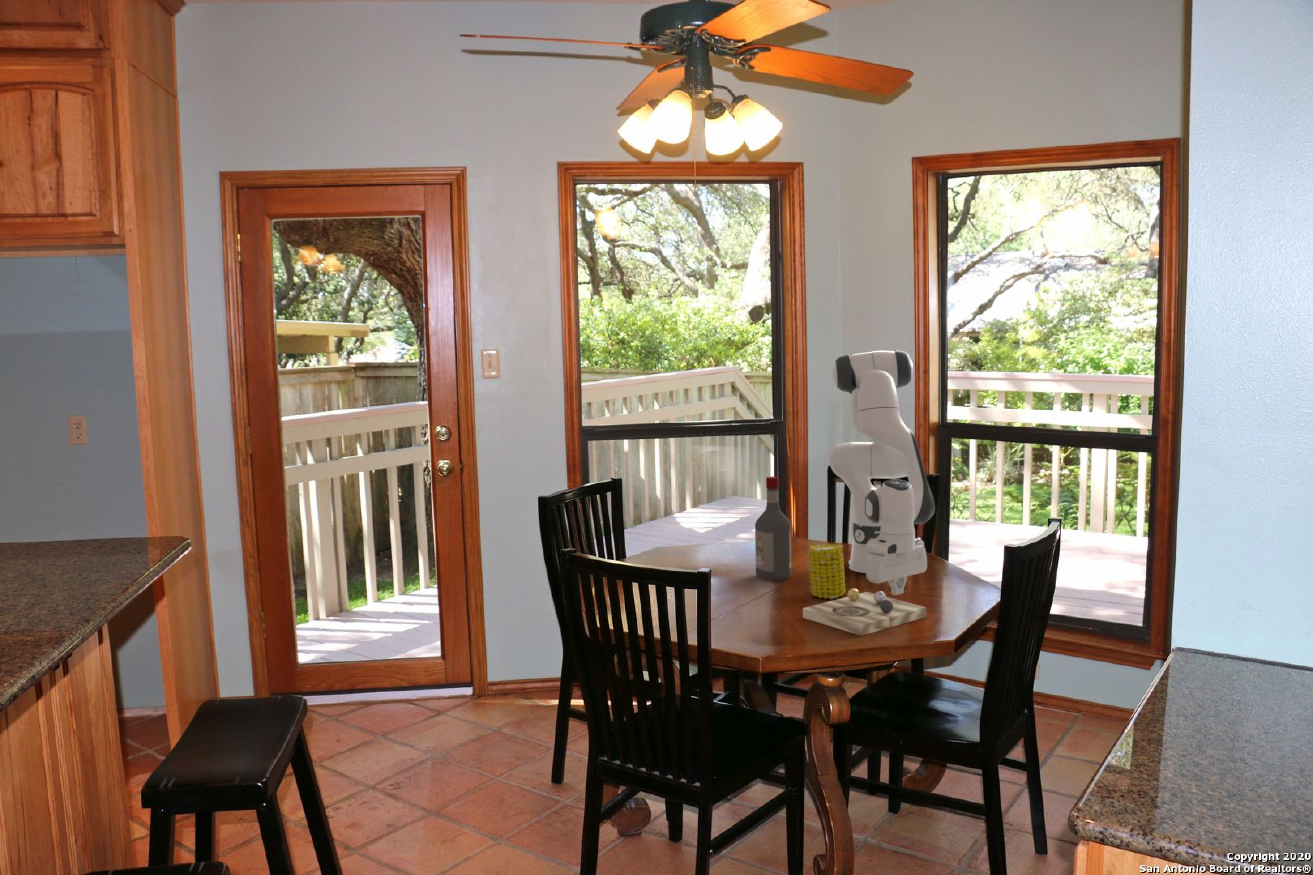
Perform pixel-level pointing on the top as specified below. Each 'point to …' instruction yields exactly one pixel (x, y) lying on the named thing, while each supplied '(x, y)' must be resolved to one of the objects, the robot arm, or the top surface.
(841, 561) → the food
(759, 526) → the liquor
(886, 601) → the dark grey ball
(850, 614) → the board
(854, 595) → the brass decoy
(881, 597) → the steel ball
